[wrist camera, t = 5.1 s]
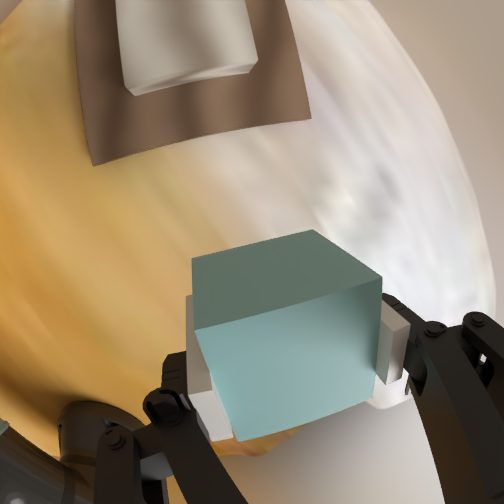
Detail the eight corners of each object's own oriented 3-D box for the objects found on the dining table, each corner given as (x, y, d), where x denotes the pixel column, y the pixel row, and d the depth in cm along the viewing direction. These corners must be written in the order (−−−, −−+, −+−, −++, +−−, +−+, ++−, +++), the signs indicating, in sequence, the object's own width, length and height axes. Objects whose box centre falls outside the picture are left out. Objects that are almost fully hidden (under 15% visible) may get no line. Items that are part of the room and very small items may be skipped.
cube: (220, 356, 16) (238, 442, 10) (191, 258, 14) (194, 330, 8) (321, 327, 16) (372, 397, 11) (312, 229, 14) (382, 277, 9)
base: (97, 165, 24) (76, 169, 19) (79, -5, 17) (62, -27, 11) (305, 120, 26) (330, 114, 21) (266, -40, 19) (280, -66, 14)
